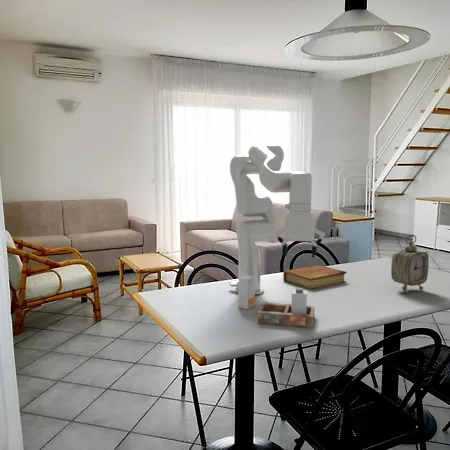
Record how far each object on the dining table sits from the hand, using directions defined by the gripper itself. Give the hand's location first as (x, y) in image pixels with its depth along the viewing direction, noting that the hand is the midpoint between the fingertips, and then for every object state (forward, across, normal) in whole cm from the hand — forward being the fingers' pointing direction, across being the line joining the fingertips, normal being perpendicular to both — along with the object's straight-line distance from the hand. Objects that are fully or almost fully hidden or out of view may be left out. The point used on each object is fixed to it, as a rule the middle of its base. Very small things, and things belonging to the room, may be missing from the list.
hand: (299, 256), depth 156 cm
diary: (+24, +3, +56) cm, 61 cm away
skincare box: (+24, -21, +11) cm, 33 cm away
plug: (+23, 0, -1) cm, 23 cm away
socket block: (+23, -4, -1) cm, 24 cm away
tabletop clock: (+24, +44, +49) cm, 70 cm away
